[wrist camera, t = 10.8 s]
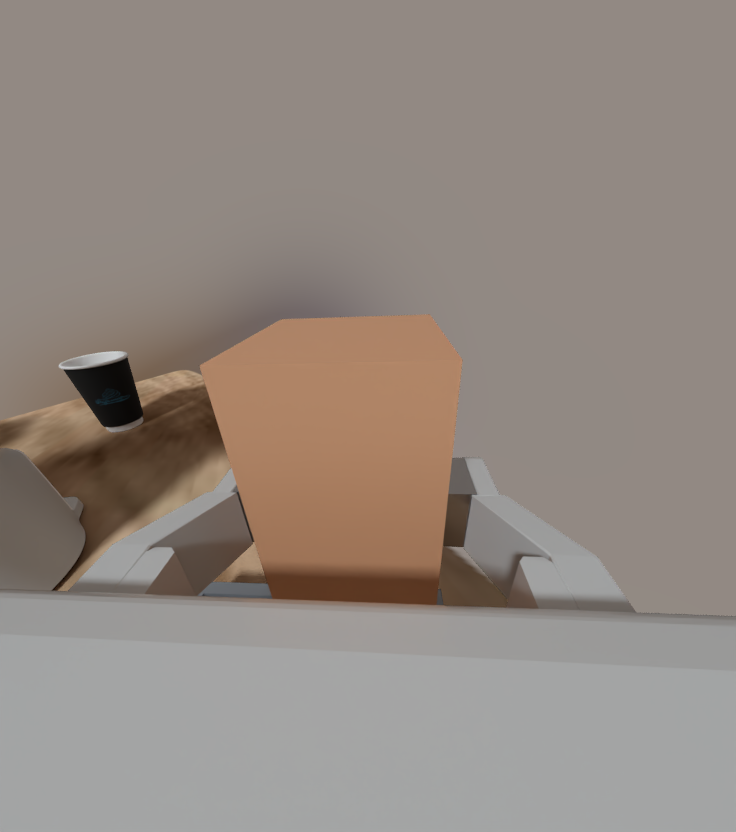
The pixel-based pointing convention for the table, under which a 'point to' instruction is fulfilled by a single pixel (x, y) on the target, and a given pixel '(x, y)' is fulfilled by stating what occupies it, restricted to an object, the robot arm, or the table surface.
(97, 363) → the dixie cup
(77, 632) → the robot arm
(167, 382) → the table surface
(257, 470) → the block
